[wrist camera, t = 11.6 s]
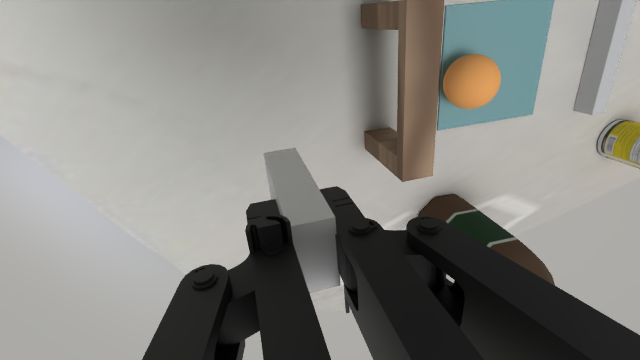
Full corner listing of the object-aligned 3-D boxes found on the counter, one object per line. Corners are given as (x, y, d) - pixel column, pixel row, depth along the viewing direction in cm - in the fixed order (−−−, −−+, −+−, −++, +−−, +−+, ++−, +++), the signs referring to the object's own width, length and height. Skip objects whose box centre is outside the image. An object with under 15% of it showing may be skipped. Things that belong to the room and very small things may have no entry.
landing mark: (445, 5, 35) (446, 5, 35) (553, -5, 37) (555, -5, 37) (437, 129, 40) (438, 130, 40) (531, 113, 43) (532, 114, 43)
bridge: (364, 148, 39) (402, 181, 31) (361, 5, 33) (406, -1, 25) (389, 144, 40) (432, 175, 32) (390, 2, 33) (444, -4, 25)
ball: (515, 56, 32) (495, 51, 37) (453, 57, 33) (442, 51, 38) (502, 115, 34) (485, 102, 39) (445, 114, 35) (435, 102, 40)
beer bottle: (430, 186, 44) (626, 341, 22) (476, 198, 46) (690, 346, 25) (405, 238, 46) (561, 421, 25) (450, 246, 49) (625, 418, 28)
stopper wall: (603, -14, 38) (626, -17, 36) (617, -16, 39) (641, -18, 36) (573, 110, 44) (592, 115, 42) (586, 108, 45) (605, 112, 43)
